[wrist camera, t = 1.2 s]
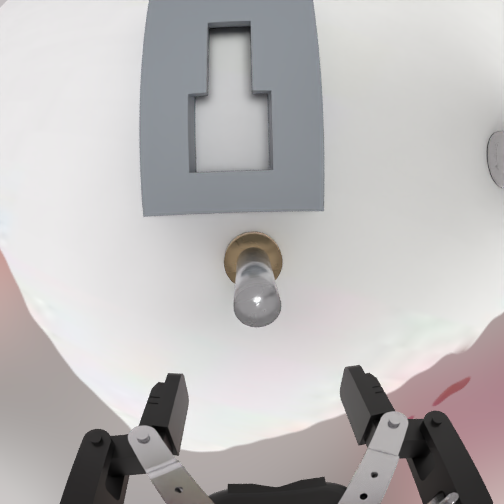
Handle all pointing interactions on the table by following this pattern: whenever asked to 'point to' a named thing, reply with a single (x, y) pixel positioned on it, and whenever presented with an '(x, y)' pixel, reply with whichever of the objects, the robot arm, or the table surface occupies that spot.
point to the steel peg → (254, 277)
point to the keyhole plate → (263, 82)
